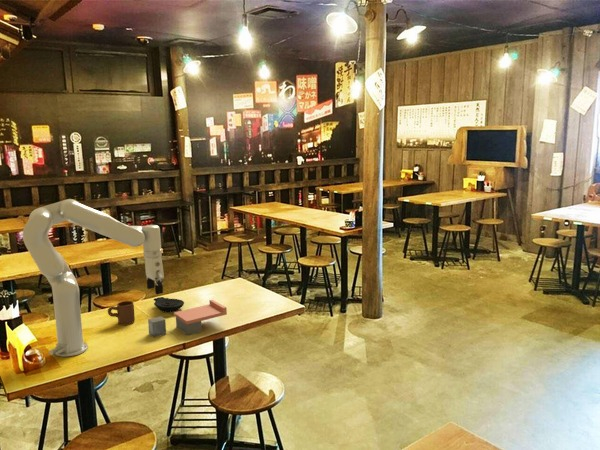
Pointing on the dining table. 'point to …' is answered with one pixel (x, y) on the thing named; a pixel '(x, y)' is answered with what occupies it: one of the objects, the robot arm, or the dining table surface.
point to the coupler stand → (198, 316)
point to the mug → (123, 312)
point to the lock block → (157, 326)
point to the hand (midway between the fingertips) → (155, 290)
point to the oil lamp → (168, 304)
